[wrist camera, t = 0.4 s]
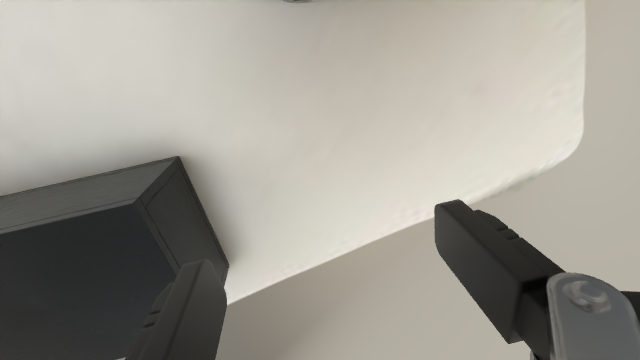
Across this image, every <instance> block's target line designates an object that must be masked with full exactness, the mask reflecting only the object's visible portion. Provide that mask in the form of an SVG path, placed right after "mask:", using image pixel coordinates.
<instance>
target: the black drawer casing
mask: <svg viewBox="0 0 640 360" xmlns="http://www.w3.org/2000/svg"><path fill="white" fill-rule="evenodd" d="M203 259H208V260H210V262H211V263H212V265H213V267H214V269H215V271H216V273H217V275H218V277H219V279H220V281H221V283H222V285H223V287H224V285H225V281H226V277H227V273H228V268H229V264H228V261H227V259H226V257H225V255H224V253H223V251H222V248H221V246H220V244H219V242H218V240H217V238H216V236H215V233H214V231H213V229H212V227H211V225H210V223H209V220H208V218H207V216H206V214H205V212H204V210H203V208H202V205H201V203H200V201H199V199H198V197H197V195H196V192H195V190H194V188H193V186H192V184H191V182H190V180H189V177H188V175H187V173H186V171H185V169H184V167H183V164H182V162H181V160H180V158H179V156H177V157H172V158H168V159H164V160H159V161H155V162H151V163H146V164H142V165H137V166H133V167H129V168H124V169H120V170H115V171H111V172H107V173H102V174H98V175H94V176H89V177H85V178H80V179H76V180H72V181H67V182H63V183H58V184H54V185H50V186H45V187H41V188H37V189H32V190H28V191H23V192H19V193H15V194H10V195H6V196H1V197H0V360H116V359H120V358H124V357H127V355H128V353H129V351H130V349H131V347H132V345H133V343H134V341H135V339H136V337H137V335H138V333H139V331H140V329H142V328H143V326H142V325H143V323H144V321H145V319H146V318H147V316H148V315H149V312H150V310H151V308H152V306H153V304H154V302H155V300H156V298H157V297H158V296H159V294H160V293H161V292H162V291H163V290H164V289H165V288H166V287H167V285H168V284H169V283H172V282H174V281H175V279H176V277H177V275H178V273H179V271H180V269H181V267H182V265H184V264H186V263H190V262H195V261H199V260H203Z"/></svg>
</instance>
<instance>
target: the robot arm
mask: <svg viewBox="0 0 640 360" xmlns="http://www.w3.org/2000/svg"><path fill="white" fill-rule="evenodd" d="M283 1H288V2H296V3H298V2H308V1H312V0H283ZM434 213H435V243H436V247H437V249H438V252H439V254H440V256H441V257H442V258H443V260H444V261H445V262H446V264H447V265H448V266H449V268H450V269H451V270H452V271H453V273H454V274H455V275H456V277H457V278H458V279H459V280H460V282H461V283H462V284H463V286H464V287H465V288H466V290H467V291H468V292H469V293H470V295H471V296H472V298H473V299H474V300H475V301H476V302H477V304H478V305H479V307H480V308H481V309H482V310H483V312H484V313H485V315H486V316H487V317H488V318H489V320H490V321H491V322H492V323H493V325H494V326H495V328H496V329H497V330H498V331H499V333H500V334H501V335H502V337H503V338H504V339H505V341H506V342H507V343H508V344H511V343H515V342H519V341H523V340H524V341H525V343H526V344H527V345H528V346H529V347H530V349H531V352H530V360H640V292H630V291H618V290H617V289H616V288H615V287H613V286H611V285H610V284H608V283H606V282H604V281H602V280H600V279H597V278H595V277H591V276H588V275H584V274H579V273H567V272H565V271H564V270H563V269H561V268H560V267H559V266H558V265H556V264H555V263H553V262H552V261H551V260H550V259H548V258H547V257H546V256H545V255H543V254H542V253H541V252H539V251H538V250H537V249H536V248H535V247H533V246H532V245H531V244H529V243H528V242H527V241H526V240H524V239H523V238H520V237H519V235H518V234H516V233H515V232H514V231H513V230H511V229H508V226H506V225H505V224H504V223H503V222H501V221H500V220H499V219H498V218H496V217H495V216H492V215H490V214H488V213H485V212H483V211H481V210H476V211H473V210H472V209H471V208H470V207H469V206H467V205H466V204H465V203H464V202H463V201H461V200H459V199H457V200H453V201H448V202H444V203H440V204H437V205H436V206H435V210H434ZM226 307H227V298H226V292H225V290H224V287H223V285H222V283H221V281H220V279H219V277H218V275H217V273H216V271H215V269H214V267H213V265H212V263H211V262H210V260H208V259H203V260H199V261H195V262H190V263H186V264H184V265H182V267H181V269H180V271H179V273H178V275H177V277H176V279H175V281H174V282H172V283H169V284H168V285H167V287H166V288H165V289H164V290H163V291H162V292H161V293H160V294H159V296H158V297H157V298H156V300H155V302H154V304H153V306H152V308H151V310H150V312H149V315H148V316H147V318H146V319H145V321H144V323H143V325H142V326H143V328H142V329H140V331H139V333H138V335H137V337H136V339H135V341H134V343H133V345H132V347H131V349H130V351H129V353H128V355H127V357H126V358H125V360H215V358H216V353H217V348H218V344H219V339H220V335H221V331H222V326H223V321H224V317H225V312H226Z"/></svg>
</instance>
